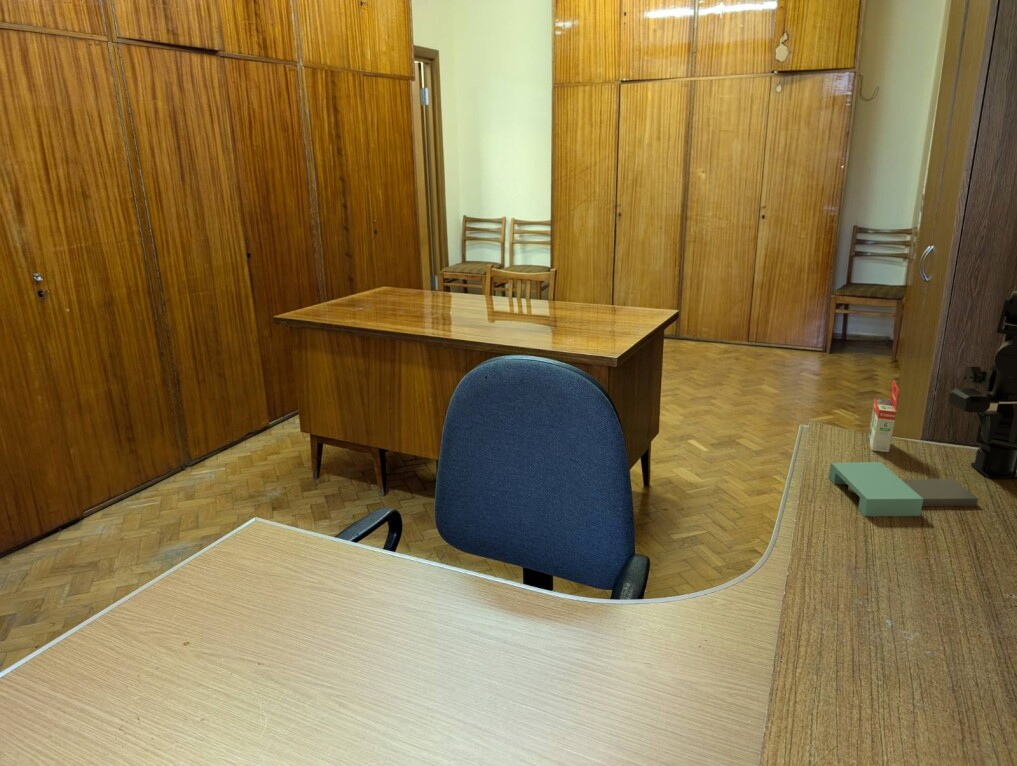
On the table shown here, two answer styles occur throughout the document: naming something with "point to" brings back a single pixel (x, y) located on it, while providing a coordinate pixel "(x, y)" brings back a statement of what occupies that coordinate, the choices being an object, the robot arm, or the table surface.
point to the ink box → (883, 421)
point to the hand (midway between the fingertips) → (999, 442)
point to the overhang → (877, 489)
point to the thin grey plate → (941, 492)
